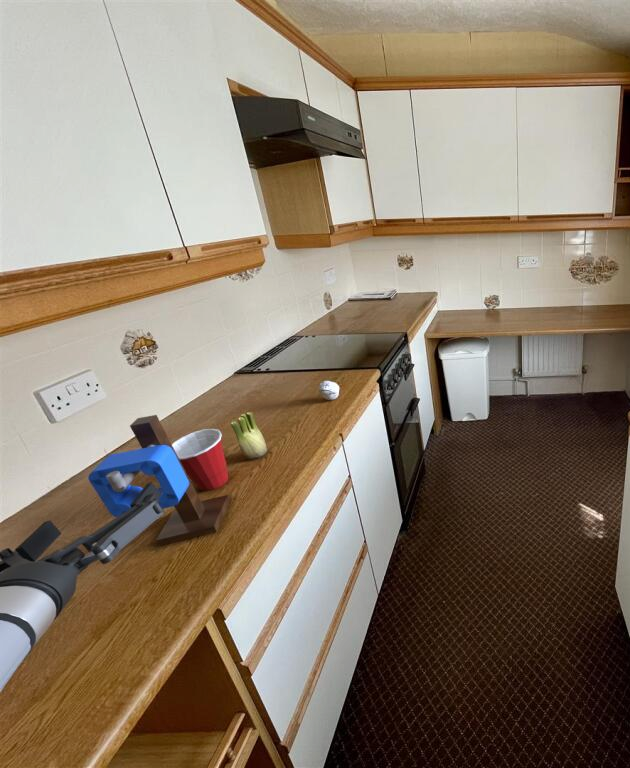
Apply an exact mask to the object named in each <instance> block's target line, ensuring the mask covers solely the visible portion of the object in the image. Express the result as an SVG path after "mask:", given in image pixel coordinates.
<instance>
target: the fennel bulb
mask: <svg viewBox="0 0 630 768" xmlns="http://www.w3.org/2000/svg"><path fill="white" fill-rule="evenodd" d="M237 421H238V422H237ZM237 421H231V423H230V425H231V428H232V429H233V431H234V435H235V436H236V439H237V442H238V445H239V448H240V451H241V452H242V454H243V456H244V457H245V458H246V459H247V460H254V459H258V458H261V457H263V456H264V455H266V453H267V452H268V448H267V447H268V446H267V443H266V440H265V438H264V436H263V434H262V432H261V431H260V429H259V427H258V426H257V424H256V421H255V418H254V414H253V412H252V411H249V412H246V413H241V415H240V417H238V419H237Z"/></svg>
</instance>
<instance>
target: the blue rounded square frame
mask: <svg viewBox="0 0 630 768" xmlns="http://www.w3.org/2000/svg"><path fill="white" fill-rule="evenodd" d="M138 470H140V472H141V473H142V474H144V475H146V476H154V477H155V479H156V481H157V483H158V484H159V487H156V488H157V489H158V490H159V492H160V493H161V495H162V496H161V497H160V498H159V502H158V503H159V504H160V506H161V507H162V509H163V510H165V509H169V508H172V507H174V506H175V505H177V504H178V502H179V501H180V499H181V498H182V496H183V494H184V493H185V491H186V489H187V488H188V486H189V481H188V479H187V477H186V475H185V473H184V471H183V469H182V467H181V465H180V463H179V461H178V459H177V457H176V455H175V453H174V451H173V450H172V448H170V447H169V446H166V445H158V446H153V447H148V448H143V449H142V448H138V449H132V450H128V451H122V452H118V453H112V454H108V455H107V456H106V457H105V458H104V459H102V461H101V462H99V464H98V465H97V466H96V467H95V468H94V469H93V470H92V471H90V473H89V474H88V477H87V479H88V481H89V483H90V485H91V486H92V487H93V490H95V492H96V494H97V495H98V497H99V498H100V500H101V501H102V503H103V505H104V506H105V508H106V510H107V511H108V512H109V514H110V515H111V516H113V517H114V518H117V517H118V516H120V515H121V514H123V513H124V512H126V511H127V510H129V509H130V508H131V507H130V505H131V503H132V502H133V501H134V500H135V498H136V497H137V496H138V495H139V493H140V492H141V491H142V490H143V488H144V487H143V488H142V487H140V486H137V485H131V483H130V484H129V485H128V486H127V487H126V489H125V490H124V491H122V492H116V491H114V490H113V489H112V486H111V484H110V482H109V481H108V479H107V477H106V475H107V474H109V473H111V472H114V471H119V472H120V474H121V475H123V474H124V473H128V472H133V471H138Z"/></svg>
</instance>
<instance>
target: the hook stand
mask: <svg viewBox="0 0 630 768" xmlns="http://www.w3.org/2000/svg"><path fill="white" fill-rule="evenodd" d="M129 428H130V429H131V431H132V433H133V435H134V436H135V438H136V440H137V442H138V443H139V446H140V447H141V449H143V448H148V447H153V446H158V445H166V446H169V447H170V448H172V450H173V451H174V453H175V455H176V457H177V459H178V461H179V463H180V465H181V467H182V469H183V471H184V473H185V475H186V477H187V479H188V481H189V486H188V488H187V489H186V491H185V493H184V494H183V496H182V498H181V499H180V501H179V502H178V504H177V505H175V506H173V507H174V509H173V512H172V513H171V515H170V516H169V518H168V520H167V521H166V522H165V524H164V525H163V528H162V529H161V531H160V533H159V534H158V536H157V538H156V539H155V542H156V544H157V545H158V546H159V547H160V546H164V545H168V544H172V543H177V542H180V541H184V540H189V539H193V538H196V537H202V536H205V535H209V534H212V533H216V532H218V530H219V528H220V525H221V523H222V521H223V518H224V516H225V514H226V512H227V509H228V508H229V505H230V503H231V497H230V495H229V494H226V495H222V496H221V495H220V496H218V497H213V498H209V499H204V500H201V499H200V497H199V495H198V493H197V491H196V488H195V487H194V485H193V483H192V480H191V479H190V477H189V476H188V475H187V473H186V471H185V469H184V467H183V466H182V464H181V462H180V460H179V458H178V456H177V454H176V452H175V450H174V448H173V446H172V442H171V439H169V436H168V435H167V433H166V431H165V428H164V427H163V424H162V423H161V421H160V419H159V417H158V415H157V414H153V415H148V416H142V417H141V416H140V417H137V418H136V419H135V420H134V421H133V422H132V423H131V424H130V425H129ZM140 472H141V471H140V470H138V471H133V472H128V473H123V475H121V474H120V472H119V471H114V472H111V473H109V474H107V475H106V477H107V479H108V481H109V482H110V484H111V486H112V489H113V490H114V491H116V492H122V491H124V490H125V489H126V487H127V486H128V485H129V484H130V485H131V483H132V481H134V479H135V478H136V476H137V475H138V474H139V473H140Z"/></svg>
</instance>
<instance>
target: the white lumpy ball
mask: <svg viewBox="0 0 630 768" xmlns="http://www.w3.org/2000/svg"><path fill="white" fill-rule="evenodd" d="M318 393H319V395H321V396H322V397H323V398H324V399H325V400H327V401H333V400H336V399H337V398H338V397H339V394H340V386H339V385H338V383H337V382H335V381H331V380H324V381H322V382H320V383H319V387H318Z"/></svg>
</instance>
